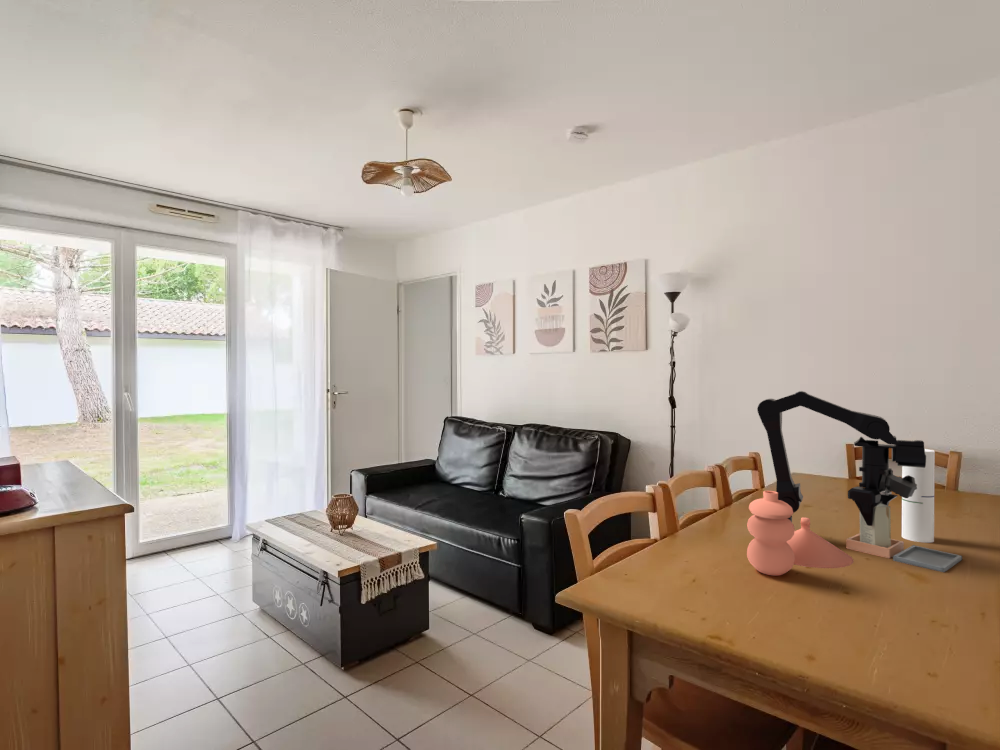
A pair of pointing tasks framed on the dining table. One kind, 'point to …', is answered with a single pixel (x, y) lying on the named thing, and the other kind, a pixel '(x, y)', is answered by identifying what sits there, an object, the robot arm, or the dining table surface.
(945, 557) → the tray
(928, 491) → the cylindrical container
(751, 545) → the ceramic vessels
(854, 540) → the holder
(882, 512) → the skincare box
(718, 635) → the dining table surface
